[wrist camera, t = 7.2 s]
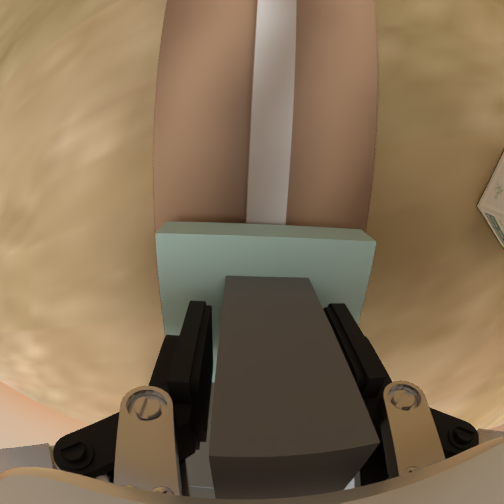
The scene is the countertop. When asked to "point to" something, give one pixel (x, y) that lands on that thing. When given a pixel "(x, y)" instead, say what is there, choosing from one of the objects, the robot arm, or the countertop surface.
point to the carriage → (274, 350)
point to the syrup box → (495, 202)
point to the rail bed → (266, 112)
